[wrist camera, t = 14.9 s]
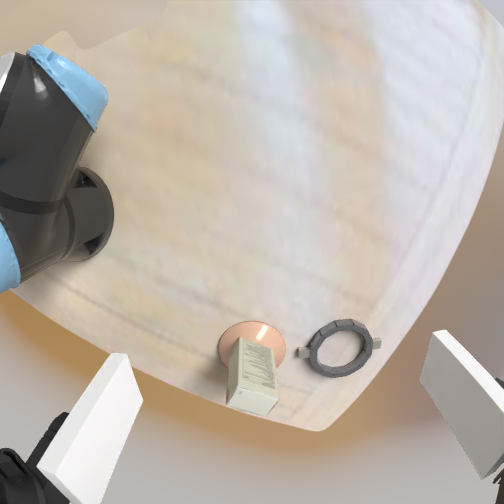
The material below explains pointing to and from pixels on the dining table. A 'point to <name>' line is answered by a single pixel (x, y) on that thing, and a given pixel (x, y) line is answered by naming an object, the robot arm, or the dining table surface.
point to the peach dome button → (252, 339)
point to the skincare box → (252, 378)
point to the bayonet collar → (330, 330)
